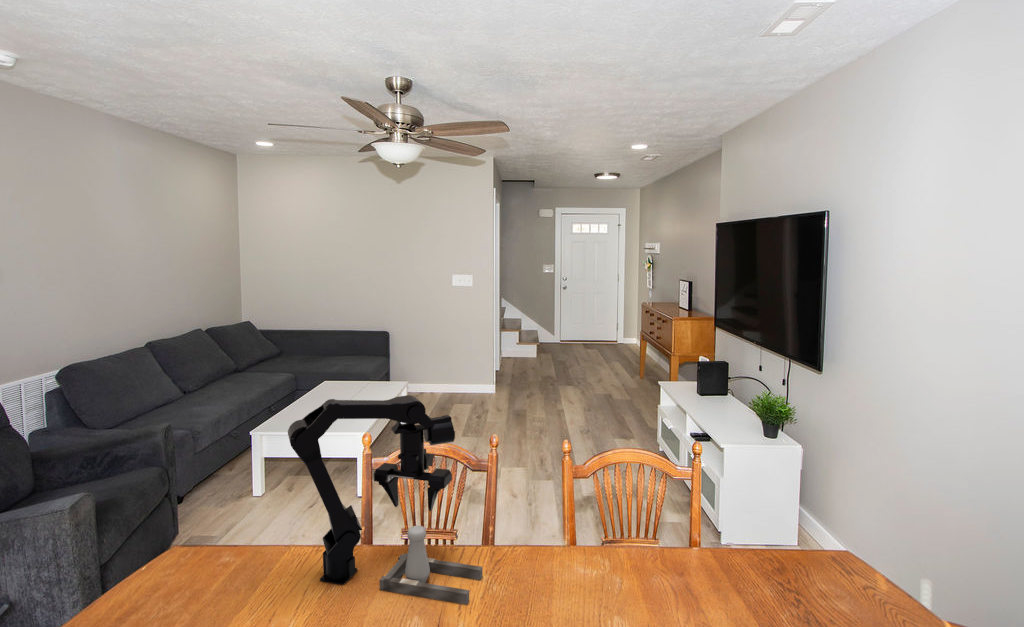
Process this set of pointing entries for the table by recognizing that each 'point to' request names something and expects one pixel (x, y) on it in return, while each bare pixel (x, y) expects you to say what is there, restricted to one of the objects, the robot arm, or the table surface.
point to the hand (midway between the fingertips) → (413, 508)
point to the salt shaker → (417, 555)
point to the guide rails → (431, 590)
